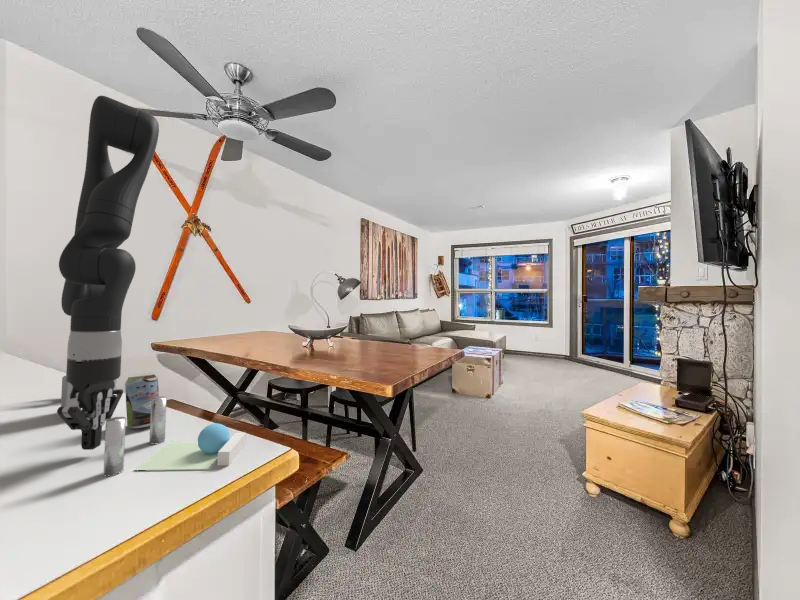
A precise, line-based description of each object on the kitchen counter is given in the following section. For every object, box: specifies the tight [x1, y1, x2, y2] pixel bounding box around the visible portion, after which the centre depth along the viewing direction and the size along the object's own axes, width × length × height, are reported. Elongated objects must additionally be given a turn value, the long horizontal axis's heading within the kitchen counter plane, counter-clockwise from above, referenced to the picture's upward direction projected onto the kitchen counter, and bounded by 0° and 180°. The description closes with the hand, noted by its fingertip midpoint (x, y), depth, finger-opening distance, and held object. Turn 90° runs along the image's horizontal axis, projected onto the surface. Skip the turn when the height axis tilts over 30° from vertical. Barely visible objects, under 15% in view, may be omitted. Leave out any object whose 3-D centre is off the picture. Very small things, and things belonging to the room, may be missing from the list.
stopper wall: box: [217, 432, 247, 467], centre depth 66 cm, size 2×9×2 cm, turn 7°
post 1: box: [103, 416, 127, 477], centre depth 58 cm, size 3×3×9 cm
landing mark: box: [134, 440, 218, 472], centre depth 65 cm, size 12×12×1 cm
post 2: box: [149, 395, 168, 445], centre depth 70 cm, size 3×3×9 cm
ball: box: [197, 423, 231, 454], centre depth 67 cm, size 6×6×6 cm
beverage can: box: [124, 372, 160, 429], centre depth 78 cm, size 6×7×12 cm
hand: (91, 447), depth 63 cm, fingers closed
